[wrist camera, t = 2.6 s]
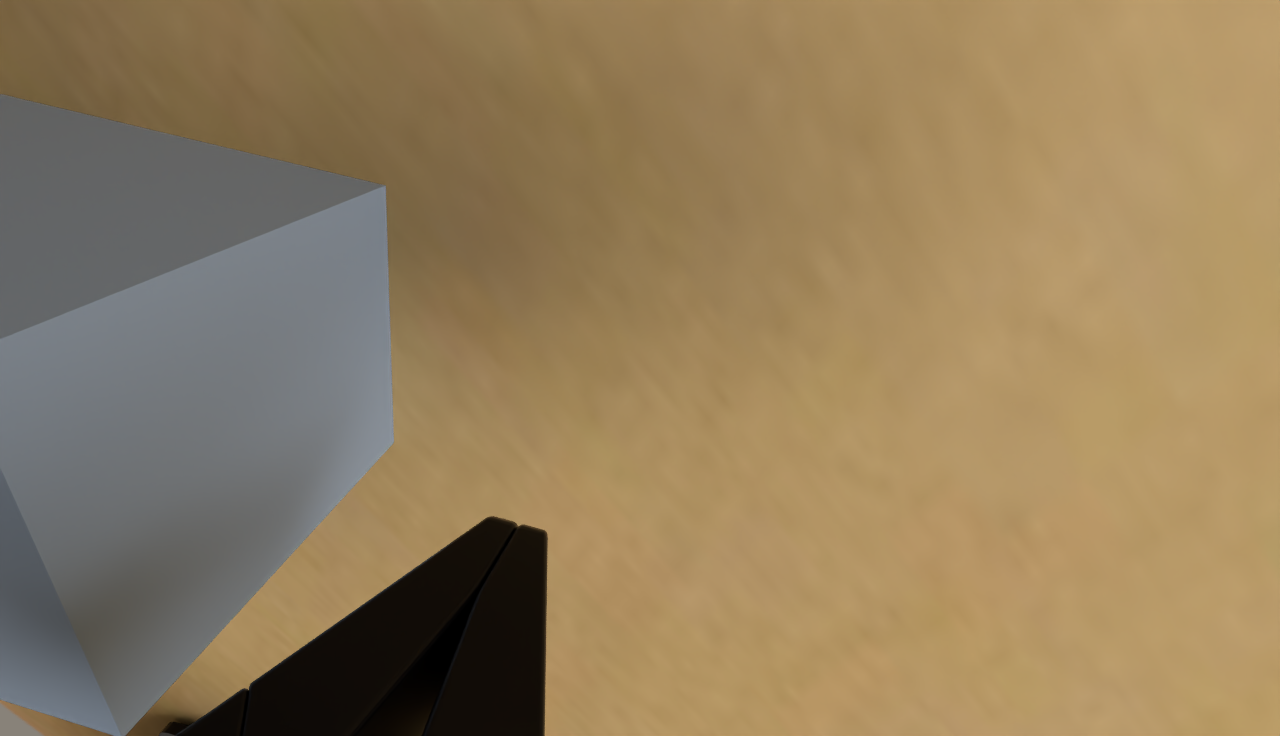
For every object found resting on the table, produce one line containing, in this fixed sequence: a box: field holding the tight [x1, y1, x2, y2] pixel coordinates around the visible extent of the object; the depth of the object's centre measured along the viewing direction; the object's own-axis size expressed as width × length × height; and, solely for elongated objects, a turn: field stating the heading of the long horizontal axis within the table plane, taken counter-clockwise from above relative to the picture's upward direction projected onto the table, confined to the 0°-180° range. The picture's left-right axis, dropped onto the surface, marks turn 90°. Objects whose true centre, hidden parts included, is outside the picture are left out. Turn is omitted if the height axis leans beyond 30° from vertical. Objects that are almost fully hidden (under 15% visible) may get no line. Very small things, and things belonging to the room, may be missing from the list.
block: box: [0, 94, 394, 736], centre depth 10 cm, size 6×8×7 cm
